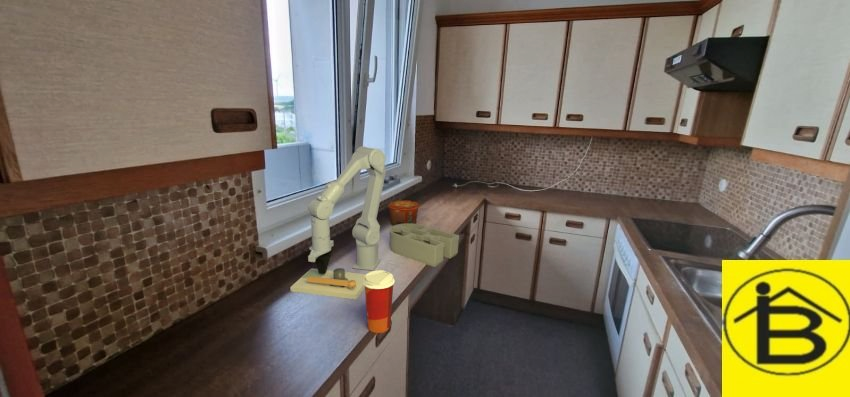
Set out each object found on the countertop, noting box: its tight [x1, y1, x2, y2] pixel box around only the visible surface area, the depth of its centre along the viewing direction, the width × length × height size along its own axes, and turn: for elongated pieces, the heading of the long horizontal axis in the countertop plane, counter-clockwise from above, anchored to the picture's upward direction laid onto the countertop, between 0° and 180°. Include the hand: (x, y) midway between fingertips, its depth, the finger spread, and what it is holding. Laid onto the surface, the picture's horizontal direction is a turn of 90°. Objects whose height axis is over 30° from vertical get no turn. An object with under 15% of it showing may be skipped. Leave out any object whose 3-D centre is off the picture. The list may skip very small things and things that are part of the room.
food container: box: [387, 199, 420, 226], centre depth 181 cm, size 16×16×11 cm
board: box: [289, 267, 367, 300], centre depth 117 cm, size 14×22×2 cm, turn 80°
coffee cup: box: [363, 269, 396, 334], centre depth 94 cm, size 8×8×15 cm
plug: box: [331, 267, 348, 287], centre depth 115 cm, size 6×6×6 cm
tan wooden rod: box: [307, 276, 356, 288], centre depth 113 cm, size 2×16×1 cm, turn 80°
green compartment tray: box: [389, 223, 460, 268], centre depth 146 cm, size 17×28×9 cm, turn 53°
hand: (322, 273), depth 120 cm, fingers closed
